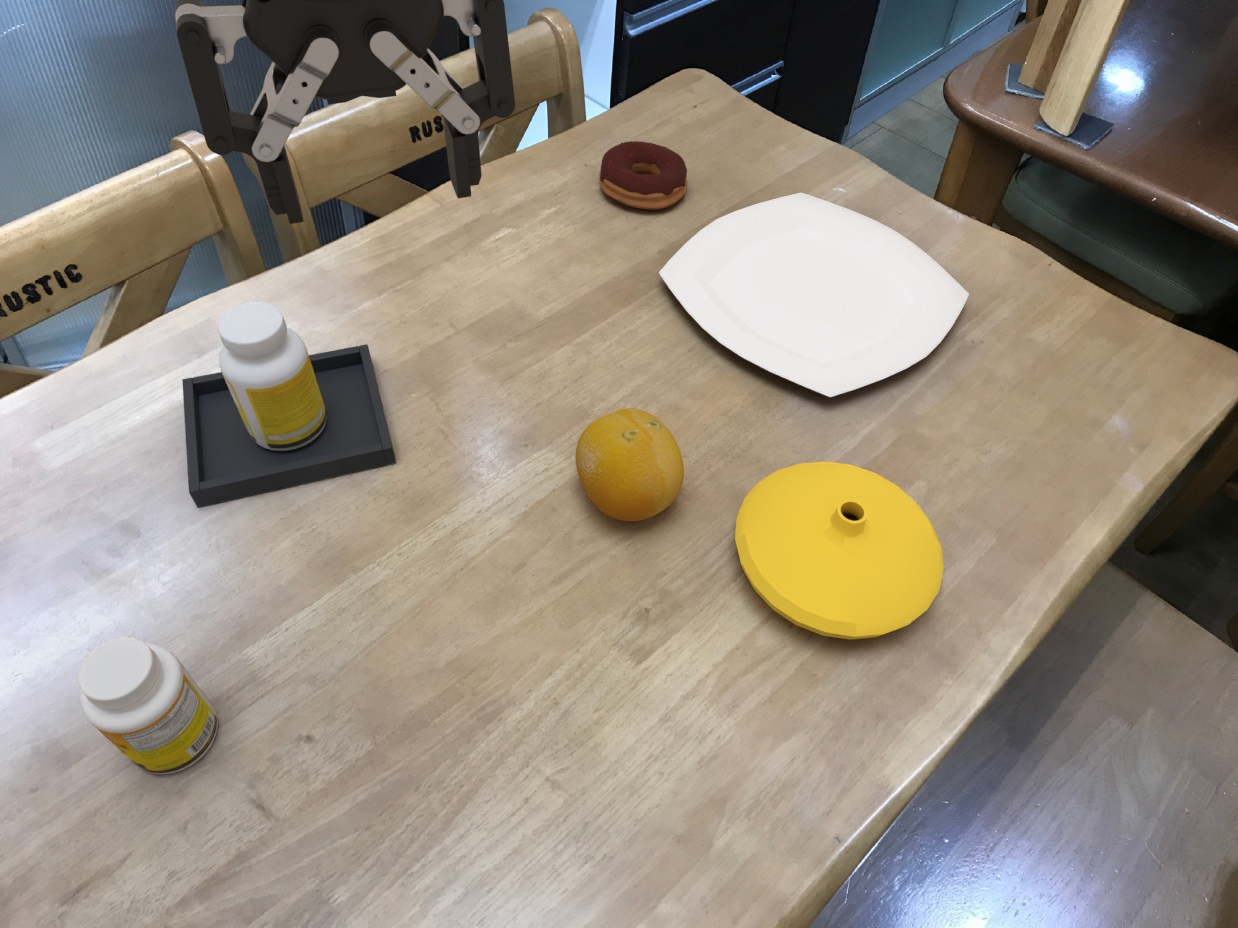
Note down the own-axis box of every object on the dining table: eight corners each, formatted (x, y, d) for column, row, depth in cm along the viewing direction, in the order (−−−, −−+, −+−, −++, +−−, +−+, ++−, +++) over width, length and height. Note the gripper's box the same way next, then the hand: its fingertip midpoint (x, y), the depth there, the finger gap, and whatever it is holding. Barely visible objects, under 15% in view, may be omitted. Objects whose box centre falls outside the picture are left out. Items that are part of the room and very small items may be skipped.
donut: (704, 193, 100) (709, 162, 97) (642, 227, 95) (644, 195, 92) (642, 154, 104) (645, 123, 101) (579, 185, 99) (580, 153, 96)
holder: (197, 508, 70) (188, 492, 68) (190, 396, 77) (182, 379, 75) (396, 463, 73) (392, 447, 72) (371, 360, 81) (367, 343, 79)
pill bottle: (344, 426, 75) (313, 323, 66) (277, 467, 72) (235, 365, 63) (299, 386, 77) (264, 281, 68) (233, 424, 74) (187, 320, 65)
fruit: (699, 500, 72) (712, 437, 66) (629, 556, 69) (636, 495, 63) (623, 439, 76) (629, 374, 70) (553, 489, 72) (552, 425, 66)
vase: (811, 453, 76) (830, 397, 71) (970, 568, 70) (1004, 516, 64) (687, 558, 69) (698, 505, 63) (851, 698, 62) (879, 652, 57)
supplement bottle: (127, 713, 59) (59, 641, 51) (214, 684, 61) (161, 610, 53) (134, 791, 56) (63, 728, 48) (226, 758, 57) (172, 691, 50)
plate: (621, 285, 89) (622, 269, 87) (795, 188, 101) (799, 173, 100) (829, 441, 77) (834, 426, 76) (998, 310, 89) (1005, 295, 88)
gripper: (106, -117, 30) (243, 270, 42) (520, -143, 33) (532, 222, 46) (108, -188, 34) (231, 182, 47) (473, -205, 37) (496, 144, 50)
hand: (380, 201), depth 46 cm, fingers open, 8 cm apart
